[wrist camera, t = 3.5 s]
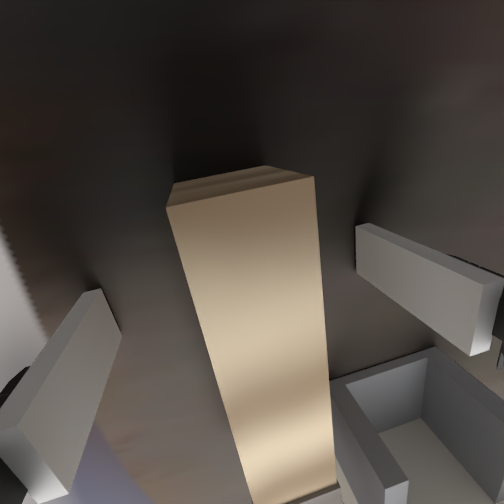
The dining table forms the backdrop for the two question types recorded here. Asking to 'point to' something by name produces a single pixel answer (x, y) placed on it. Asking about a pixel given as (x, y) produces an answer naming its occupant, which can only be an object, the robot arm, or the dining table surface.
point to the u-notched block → (417, 434)
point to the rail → (263, 323)
